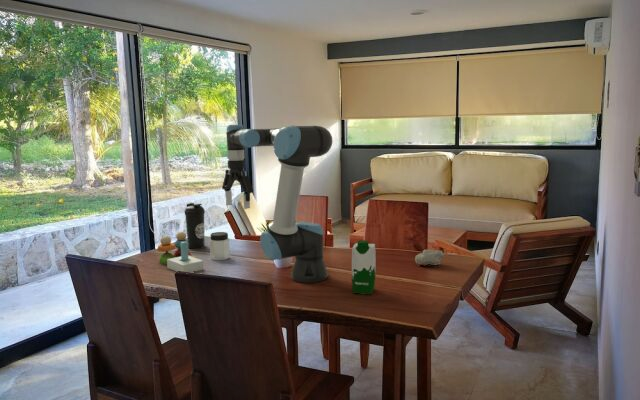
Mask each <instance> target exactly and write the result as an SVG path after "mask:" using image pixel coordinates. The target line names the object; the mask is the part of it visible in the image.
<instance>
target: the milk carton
mask: <svg viewBox="0 0 640 400" xmlns="http://www.w3.org/2000/svg"><path fill="white" fill-rule="evenodd" d="M376 253H377V251H376V244H375V243H369V241H368V240H365V239H364V240H363V239H362V240H358V241H357V243H354V244H353V247H352V249H351V284H352V294H353V293H365V294H372V295H373V292H374V290H373V289H375V283H376V269H377V268H376V263H377V261H376V255H377V254H376Z"/></svg>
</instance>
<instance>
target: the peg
mask: <svg viewBox="0 0 640 400" xmlns="http://www.w3.org/2000/svg"><path fill="white" fill-rule="evenodd" d="M188 251H189V248H188V242H181V254H180V256H181V259H182V262H184V261H189V259H188Z"/></svg>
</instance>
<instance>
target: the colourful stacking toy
mask: <svg viewBox="0 0 640 400" xmlns="http://www.w3.org/2000/svg"><path fill="white" fill-rule="evenodd" d="M181 242H188V240H187V233H185V232H184V231H179V232H177V234H176V240H175V242H174V243H172V239H171V237H170V236H169V235H163V236H162V237H160V244H159V245H158V246H157V251H158V252H165V253H163V254H162V255H161V256H160V257H159V262H158V264H160V265H167V259H171V258H175V257H179V255H180V256H181ZM188 245H189V243H188ZM176 248H177V249H176ZM175 249H176V250H175ZM174 250H175V252H174V254H173V253H172V252H171V251H174ZM188 256H191V257H194V258H196V256H195V255H191V253H190V251H189V250H188Z"/></svg>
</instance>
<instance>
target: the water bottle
mask: <svg viewBox="0 0 640 400" xmlns="http://www.w3.org/2000/svg"><path fill="white" fill-rule="evenodd" d="M205 213H206V212H205V208H204V207H203V204H202V203H194V202H190V203H187V204H186V208H185V209H184V215H185V216H184V217H185V227H186V240H187V241H188V243H189V245H188V250H199V249H203V248H205V247H206V246H205V245H206V244H205Z"/></svg>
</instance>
